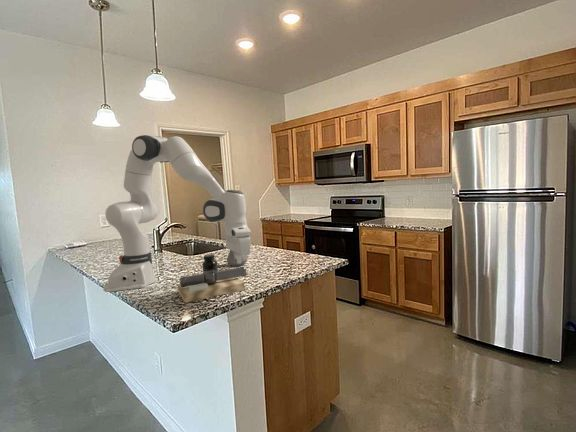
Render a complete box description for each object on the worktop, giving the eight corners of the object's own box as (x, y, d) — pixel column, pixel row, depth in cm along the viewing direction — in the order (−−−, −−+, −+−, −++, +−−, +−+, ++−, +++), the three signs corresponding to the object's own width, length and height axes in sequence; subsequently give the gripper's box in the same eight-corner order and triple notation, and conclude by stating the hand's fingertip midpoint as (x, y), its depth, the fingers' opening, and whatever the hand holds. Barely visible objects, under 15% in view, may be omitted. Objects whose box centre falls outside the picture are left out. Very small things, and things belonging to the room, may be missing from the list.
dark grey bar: (181, 290, 128) (180, 277, 128) (180, 286, 133) (179, 274, 132) (248, 277, 140) (247, 266, 139) (244, 275, 144) (243, 264, 144)
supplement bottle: (212, 277, 156) (210, 253, 154) (221, 279, 151) (219, 254, 150) (200, 281, 150) (198, 256, 149) (209, 283, 146) (207, 257, 145)
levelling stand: (185, 302, 123) (183, 290, 123) (178, 291, 137) (176, 280, 137) (244, 289, 134) (243, 278, 134) (232, 281, 148) (231, 270, 148)
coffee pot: (227, 263, 185) (225, 237, 184) (247, 261, 187) (245, 235, 185) (226, 272, 164) (224, 243, 163) (249, 270, 166) (247, 241, 164)
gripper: (221, 227, 140) (223, 259, 142) (237, 233, 122) (239, 269, 124) (235, 226, 143) (237, 257, 145) (252, 231, 125) (254, 266, 127)
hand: (238, 262), depth 134 cm, fingers closed
